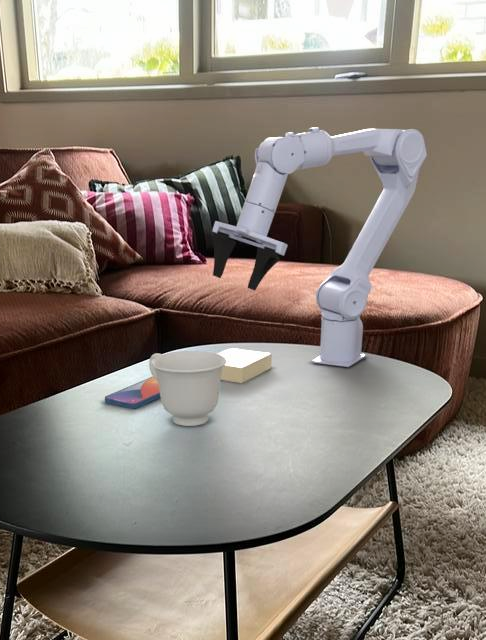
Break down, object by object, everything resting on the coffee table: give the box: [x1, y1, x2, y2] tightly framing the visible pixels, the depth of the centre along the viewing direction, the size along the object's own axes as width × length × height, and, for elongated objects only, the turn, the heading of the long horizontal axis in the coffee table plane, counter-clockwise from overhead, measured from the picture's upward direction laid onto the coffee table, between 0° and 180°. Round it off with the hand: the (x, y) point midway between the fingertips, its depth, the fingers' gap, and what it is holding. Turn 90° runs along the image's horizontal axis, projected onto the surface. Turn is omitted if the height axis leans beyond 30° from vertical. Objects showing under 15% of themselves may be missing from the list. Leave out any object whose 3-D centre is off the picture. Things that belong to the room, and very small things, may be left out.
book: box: [216, 347, 272, 384], centre depth 149 cm, size 12×9×3 cm
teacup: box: [148, 350, 227, 427], centre depth 123 cm, size 12×15×10 cm
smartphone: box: [104, 376, 161, 409], centre depth 137 cm, size 7×15×1 cm, turn 145°
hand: (233, 283), depth 140 cm, fingers open, 7 cm apart
